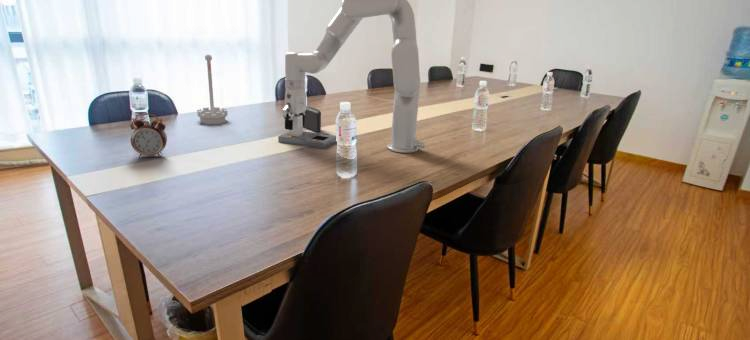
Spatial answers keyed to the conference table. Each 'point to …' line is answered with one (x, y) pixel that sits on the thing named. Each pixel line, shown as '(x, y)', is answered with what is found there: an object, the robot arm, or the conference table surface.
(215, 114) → the flag stand
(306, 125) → the leaning round-cornered charcoal block
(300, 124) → the plug
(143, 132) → the alarm clock
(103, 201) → the conference table surface
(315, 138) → the panel
